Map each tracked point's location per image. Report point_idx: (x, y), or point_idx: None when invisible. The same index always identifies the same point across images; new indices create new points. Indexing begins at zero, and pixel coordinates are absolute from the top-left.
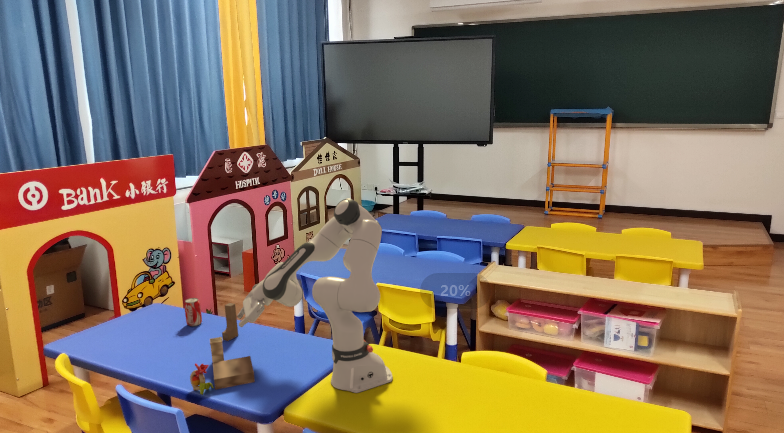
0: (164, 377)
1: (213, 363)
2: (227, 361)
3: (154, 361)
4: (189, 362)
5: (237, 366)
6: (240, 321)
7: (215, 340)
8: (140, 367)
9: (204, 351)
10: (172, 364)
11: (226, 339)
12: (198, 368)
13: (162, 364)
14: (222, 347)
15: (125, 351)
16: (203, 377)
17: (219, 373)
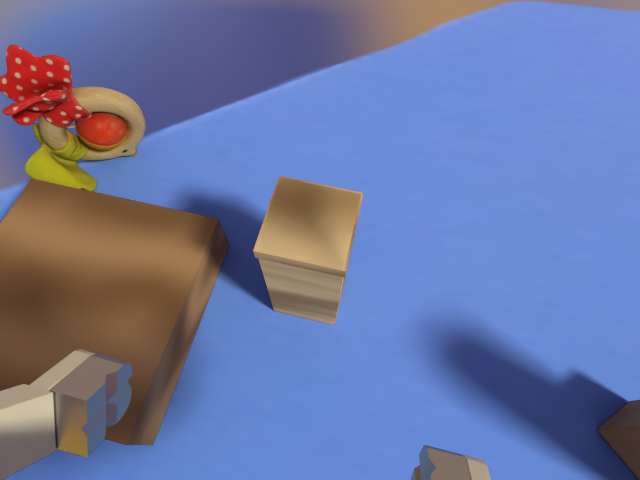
0: (323, 92)
1: (206, 219)
2: (169, 287)
3: (493, 89)
4: (407, 184)
5: (56, 316)
6: (92, 388)
7: (304, 216)
8: (462, 51)
9: (502, 267)
10: (426, 130)
11: (613, 419)
12: (48, 83)
13: (447, 104)
14: (263, 269)
15: (637, 35)
16: (39, 125)
17: (67, 213)
